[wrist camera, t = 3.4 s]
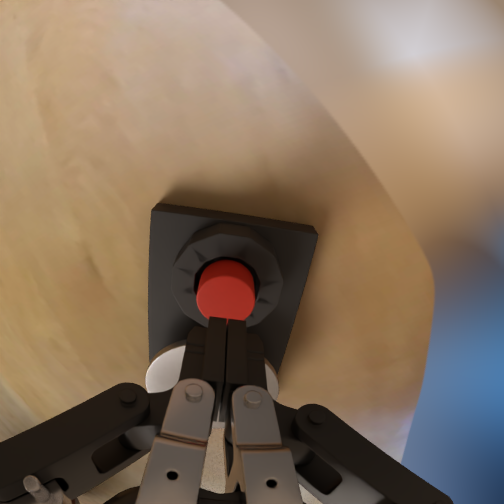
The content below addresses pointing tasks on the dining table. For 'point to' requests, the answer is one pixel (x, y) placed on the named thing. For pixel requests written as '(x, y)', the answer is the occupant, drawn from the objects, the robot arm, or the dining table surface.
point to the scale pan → (169, 366)
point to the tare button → (226, 291)
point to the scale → (225, 248)
